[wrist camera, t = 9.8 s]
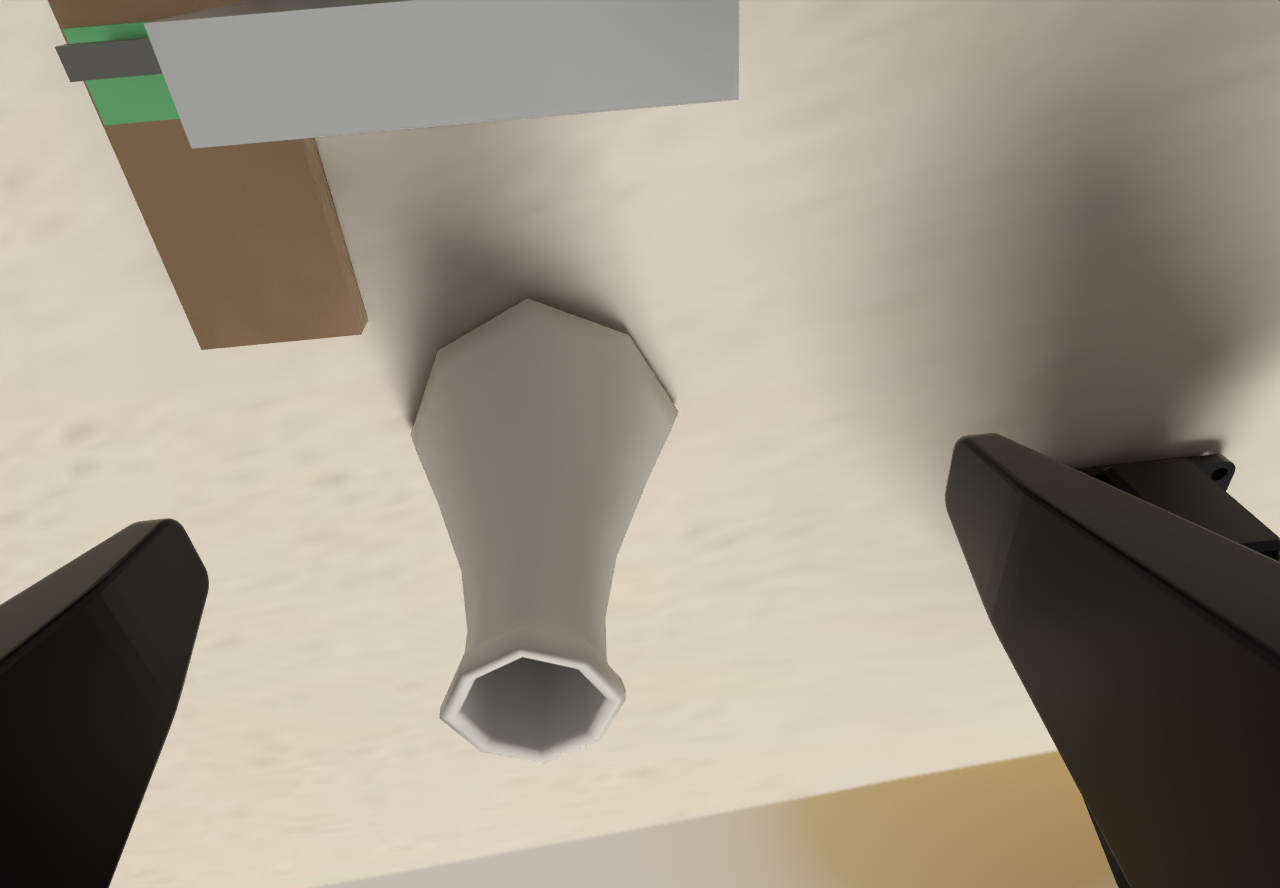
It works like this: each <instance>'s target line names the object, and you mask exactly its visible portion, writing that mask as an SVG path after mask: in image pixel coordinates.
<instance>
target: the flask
mask: <svg viewBox="0 0 1280 888" xmlns="http://www.w3.org/2000/svg"><path fill="white" fill-rule="evenodd" d="M677 414H678V410H677V409H676V407H675V405H674V404H673V402H672V401H671V399H670V398H669V396H668V395H667V393H666V392H665V390H664V388H663V387H662V385H661V384H660V382H659V381H658V379H657V378H656V376H655V375H654V373H653V371H652V370H651V368H650V367H649V365H648V364H647V362H646V361H645V359H644V358H643V356H642V354H641V353H640V351H639V350H638V348H637V347H636V345H635V344H634V342H633V341H632V339H631V337H630V336H629V335H628V334H625V333H622V332H619V331H617V330H614V329H611V328H608V327H606V326H603V325H600V324H597V323H594V322H592V321H589V320H586V319H583V318H581V317H578V316H575V315H572V314H569V313H567V312H564V311H561V310H558V309H556V308H553V307H550V306H547V305H544V304H542V303H539V302H536V301H533V300H531V299H528V298H527V299H525V300H524V301H522V302H520V303H518V304H517V305H515V306H513V307H512V308H510V309H508V310H506V311H505V312H503V313H501V314H500V315H498V316H496V317H494V318H493V319H491V320H489V321H488V322H486V323H484V324H483V325H481V326H479V327H477V328H476V329H474V330H472V331H471V332H469V333H467V334H465V335H464V336H462V337H460V338H459V339H457V340H455V341H453V342H452V343H450V344H448V345H447V346H445V347H443V348H442V349H440V350H438V352H437V355H436V358H435V361H434V364H433V367H432V370H431V373H430V376H429V379H428V383H427V386H426V389H425V392H424V395H423V398H422V401H421V404H420V407H419V411H418V414H417V417H416V420H415V423H414V426H413V429H412V432H411V437H412V439H413V442H414V445H415V448H416V451H417V454H418V456H419V458H420V461H421V463H422V465H423V468H424V470H425V473H426V475H427V477H428V480H429V482H430V485H431V487H432V489H433V492H434V494H435V497H436V499H437V501H438V504H439V507H440V510H441V513H442V516H443V519H444V522H445V525H446V527H447V530H448V533H449V536H450V539H451V542H452V545H453V548H454V551H455V554H456V556H457V559H458V562H459V565H460V568H461V571H462V581H463V591H464V601H465V611H466V620H467V630H468V631H467V640H466V648H465V654H464V656H463V658H462V660H461V663H460V665H459V667H458V669H457V672H456V674H455V676H454V678H453V681H452V683H451V685H450V687H449V689H448V692H447V694H446V696H445V698H444V701H443V703H442V705H441V708H440V719H441V720H442V721H444V722H445V723H446V724H447V725H449V726H450V727H451V728H452V729H454V730H455V731H456V732H457V733H458V734H460V735H461V736H462V737H463V738H465V739H466V740H467V741H468V742H470V743H471V744H472V745H473V746H475V747H476V748H477V749H478V750H479V751H481V752H484V753H490V754H495V755H501V756H507V757H512V758H518V759H523V760H529V761H534V762H540V763H546V762H549V761H551V760H553V759H556V758H558V757H560V756H563V755H565V754H568V753H570V752H572V751H575V750H577V749H579V748H582V747H584V746H587V745H589V744H591V743H594V742H596V741H598V740H600V739H601V737H602V736H603V734H604V732H605V731H606V729H607V728H608V726H609V725H610V723H611V721H612V720H613V718H614V717H615V715H616V714H617V712H618V710H619V709H620V707H621V706H622V704H623V703H624V701H625V687H624V684H623V682H622V679H621V678H620V677H619V676H618V675H617V674H616V673H615V672H614V671H613V669H612V668H611V667H610V666H609V665H608V663H607V658H606V627H605V616H606V610H607V605H608V600H609V594H610V589H611V583H612V578H613V573H614V567H615V562H616V556H617V554H618V551H619V549H620V546H621V544H622V542H623V539H624V537H625V534H626V532H627V529H628V527H629V524H630V522H631V519H632V517H633V514H634V512H635V509H636V507H637V504H638V502H639V499H640V497H641V494H642V492H643V489H644V487H645V484H646V482H647V480H648V478H649V476H650V474H651V471H652V469H653V467H654V465H655V463H656V461H657V459H658V456H659V454H660V452H661V450H662V448H663V446H664V444H665V441H666V439H667V437H668V435H669V433H670V431H671V428H672V426H673V423H674V421H675V418H676V416H677Z"/></svg>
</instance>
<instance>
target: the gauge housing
mask: <svg viewBox="0 0 1280 888" xmlns="http://www.w3.org/2000/svg"><path fill="white" fill-rule="evenodd" d="M243 1H248V0H48V2H49V4H50V6H51V8H52V11H53V13H54V15H55V18H56V20H57V22H58V24H59V27H60V29H61V31H62V33H63V36H64V38H65V40H66V43H67V44H74V43H86V42H98V41H109V40H121V39H132V38H144V37H148V34H147V31H146V29H145V26H144V24H143V23H148V22H153V21H157V20H162V19H166V18H171V17H175V16H180V15H184V14H189V13H193V12H198V11H202V10H207V9H212V8H216V7H221V6H225V5H230V4H234V3H239V2H243ZM84 83H85V86H86V88H87V90H88V93H89V95H90V97H91V99H92V102H93V104H94V106H95V109H96V111H97V113H98V115H99V118H100V120H101V122H102V124H103V127H104V129H105V131H106V134H107V136H108V138H109V140H110V143H111V145H112V147H113V149H114V152H115V154H116V156H117V159H118V161H119V163H120V165H121V168H122V170H123V172H124V174H125V177H126V179H127V181H128V184H129V186H130V188H131V190H132V193H133V195H134V197H135V199H136V202H137V204H138V206H139V209H140V211H141V213H142V215H143V218H144V220H145V222H146V224H147V227H148V229H149V231H150V234H151V236H152V238H153V240H154V243H155V245H156V247H157V249H158V252H159V254H160V256H161V259H162V261H163V263H164V265H165V268H166V270H167V272H168V274H169V277H170V279H171V281H172V284H173V286H174V288H175V290H176V293H177V295H178V297H179V299H180V302H181V304H182V306H183V309H184V311H185V313H186V315H187V318H188V320H189V322H190V325H191V327H192V329H193V331H194V334H195V336H196V338H197V340H198V343H199V345H200V347H201V350H205V349H215V348H226V347H236V346H246V345H257V344H267V343H277V342H288V341H298V340H309V339H319V338H329V337H340V336H350V335H360V334H362V332H363V330H364V328H365V326H366V324H367V322H368V319H367V316H366V313H365V309H364V306H363V302H362V299H361V296H360V292H359V289H358V285H357V282H356V279H355V275H354V272H353V269H352V265H351V262H350V258H349V255H348V252H347V248H346V245H345V241H344V238H343V235H342V231H341V228H340V225H339V221H338V218H337V214H336V211H335V208H334V204H333V201H332V197H331V194H330V191H329V187H328V184H327V180H326V177H325V174H324V170H323V167H322V164H321V160H320V157H319V153H318V150H317V147H316V143H315V140H314V138H305V139H293V140H282V141H271V142H260V143H249V144H238V145H227V146H216V147H204V148H193V149H191V146H190V143H189V141H188V138H187V135H186V133H185V130H184V128H183V125H182V122H181V120H180V117H179V115H178V112H177V109H176V107H175V104H174V102H173V99H172V96H171V94H170V91H169V89H168V86H167V83H166V81H165V78H164V76H163V74H156V75H144V76H133V77H121V78H110V79H98V80H87V81H84Z"/></svg>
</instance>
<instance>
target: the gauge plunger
mask: <svg viewBox="0 0 1280 888" xmlns="http://www.w3.org/2000/svg"><path fill="white" fill-rule="evenodd" d="M143 24H144V26H145V29H146V31H147V34H148V37H144V38H132V39H121V40H109V41H98V42H86V43H74V44H65V45H61V46H56V47H55V48H56V51H57V53H58V55H59V57H60V60H61V62H62V64H63V66H64V68H65V71H66V73H67V75H68V77H69V80H70V82H75V81H87V80H98V79H110V78H121V77H133V76H144V75H156V74H163V76H164V78H165V81H166V83H167V86H168V89H169V91H170V94H171V96H172V99H173V102H174V104H175V107H176V109H177V112H178V115H179V117H180V120H181V122H182V125H183V128H184V130H185V133H186V135H187V138H188V141H189V143H190V146H191V149H193V148H204V147H216V146H227V145H238V144H249V143H260V142H271V141H282V140H293V139H305V138H316V137H327V136H338V135H349V134H360V133H371V132H382V131H394V130H405V129H416V128H427V127H438V126H449V125H460V124H471V123H483V122H494V121H505V120H516V119H527V118H538V117H549V116H560V115H572V114H583V113H594V112H605V111H616V110H627V109H638V108H649V107H661V106H672V105H683V104H694V103H705V102H716V101H727V100H738V93H739V0H248V1H243V2H239V3H234V4H230V5H225V6H221V7H216V8H212V9H207V10H202V11H198V12H193V13H189V14H184V15H180V16H175V17H171V18H166V19H162V20H157V21H153V22H148V23H143Z"/></svg>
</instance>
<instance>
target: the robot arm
mask: <svg viewBox="0 0 1280 888" xmlns="http://www.w3.org/2000/svg"><path fill="white" fill-rule="evenodd" d="M1234 472H1235V465H1234V464H1233V463H1232V462H1231V461H1230V460H1228V459H1227V458H1226V457H1224V456H1223V455H1218V454H1215V455H1205V456H1195V457H1186V458H1176V459H1166V460H1156V461H1147V462H1137V463H1127V464H1118V465H1108V466H1098V467H1089V468H1079V469H1074V468H1071V467H1069V466H1067V465H1065V464H1063V463H1060V462H1058V461H1056V460H1054V459H1052V458H1049V457H1047V456H1045V455H1043V454H1041V453H1038V452H1036V451H1034V450H1032V449H1030V448H1027V447H1025V446H1023V445H1021V444H1019V443H1016V442H1014V441H1012V440H1010V439H1008V438H1006V437H1003V436H1001V435H999V434H996V433H986V434H977V435H967V436H962V437H961V438H960V439H958V440H957V442H956V444H955V446H954V450H953V455H952V460H951V465H950V471H949V476H948V481H947V487H946V493H945V501H946V508H947V512H948V515H949V517H950V520H951V523H952V525H953V528H954V530H955V533H956V535H957V538H958V541H959V543H960V546H961V548H962V551H963V554H964V556H965V559H966V561H967V564H968V566H969V569H970V572H971V574H972V577H973V579H974V582H975V584H976V587H977V590H978V592H979V595H980V597H981V600H982V603H983V605H984V607H985V610H986V612H987V614H988V617H989V619H990V621H991V624H992V626H993V628H994V630H995V632H996V634H997V636H998V638H999V640H1000V642H1001V643H1002V645H1003V647H1004V649H1005V651H1006V653H1007V655H1008V657H1009V659H1010V660H1011V662H1012V664H1013V666H1014V668H1015V670H1016V672H1017V674H1018V676H1019V677H1020V679H1021V681H1022V683H1023V685H1024V687H1025V689H1026V691H1027V692H1028V694H1029V696H1030V698H1031V700H1032V702H1033V704H1034V706H1035V708H1036V709H1037V711H1038V713H1039V715H1040V717H1041V719H1042V721H1043V723H1044V725H1045V726H1046V728H1047V730H1048V732H1049V734H1050V736H1051V738H1052V740H1053V742H1054V743H1055V745H1056V747H1057V749H1058V751H1059V753H1060V755H1061V757H1062V759H1063V760H1064V762H1065V764H1066V766H1067V768H1068V770H1069V771H1070V774H1071V775H1072V777H1073V779H1074V781H1075V783H1076V785H1077V787H1078V789H1079V790H1080V793H1081V794H1082V797H1083V799H1084V802H1085V804H1086V807H1087V809H1088V812H1089V814H1090V817H1091V819H1092V822H1093V824H1094V827H1095V829H1096V832H1097V834H1098V837H1099V840H1100V842H1101V845H1102V847H1103V850H1104V852H1105V855H1106V857H1107V860H1108V863H1109V865H1110V867H1111V870H1112V873H1113V875H1114V878H1115V880H1116V883H1117V885H1118V887H1119V888H1280V538H1279V537H1278V536H1277V535H1276V534H1275V533H1273V532H1272V531H1271V530H1270V529H1269V528H1268V527H1266V526H1265V525H1264V524H1263V523H1262V522H1261V521H1259V520H1258V519H1257V518H1256V517H1255V516H1254V515H1252V514H1251V513H1250V512H1249V511H1248V510H1247V509H1245V508H1244V507H1243V506H1242V505H1241V504H1240V503H1238V502H1237V501H1236V500H1235V499H1234V498H1233V497H1231V496H1230V495H1229V494H1228V493H1227V492H1226V490H1227V488H1228V486H1229V483H1230V481H1231V479H1232V477H1233V475H1234ZM208 588H209V580H208V574H207V571H206V568H205V566H204V565H203V563H202V561H201V559H200V557H199V555H198V553H197V552H196V550H195V548H194V546H193V544H192V542H191V540H190V538H189V537H188V535H187V533H186V531H185V529H184V528H183V526H182V525H181V524H180V523H179V522H178V521H176V520H173V519H158V520H149V521H140V522H136V523H133V524H131V525H130V526H128V527H126V528H125V529H123V530H121V531H120V532H118V533H117V534H115V535H113V536H112V537H110V538H108V539H107V540H105V541H104V542H102V543H100V544H99V545H97V546H95V547H94V548H92V549H91V550H89V551H87V552H86V553H84V554H82V555H81V556H79V557H78V558H76V559H74V560H73V561H71V562H69V563H68V564H66V565H65V566H63V567H61V568H60V569H58V570H57V571H55V572H53V573H52V574H50V575H48V576H47V577H45V578H44V579H42V580H40V581H39V582H37V583H35V584H34V585H32V586H31V587H29V588H27V589H26V590H24V591H22V592H21V593H19V594H18V595H16V596H14V597H13V598H11V599H9V600H8V601H6V602H5V603H3V604H1V605H0V888H109V886H110V883H111V880H112V878H113V875H114V873H115V870H116V867H117V865H118V862H119V860H120V857H121V854H122V852H123V849H124V847H125V844H126V841H127V839H128V836H129V834H130V831H131V828H132V826H133V823H134V821H135V818H136V815H137V813H138V810H139V808H140V805H141V802H142V800H143V797H144V795H145V792H146V789H147V787H148V784H149V782H150V779H151V776H152V774H153V771H154V769H155V766H156V763H157V761H158V758H159V756H160V753H161V750H162V748H163V745H164V743H165V740H166V737H167V735H168V732H169V729H170V727H171V724H172V721H173V718H174V715H175V713H176V710H177V706H178V703H179V700H180V696H181V693H182V690H183V686H184V682H185V678H186V674H187V670H188V667H189V663H190V659H191V655H192V651H193V648H194V644H195V640H196V636H197V632H198V628H199V625H200V621H201V617H202V613H203V609H204V606H205V602H206V598H207V594H208Z"/></svg>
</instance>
